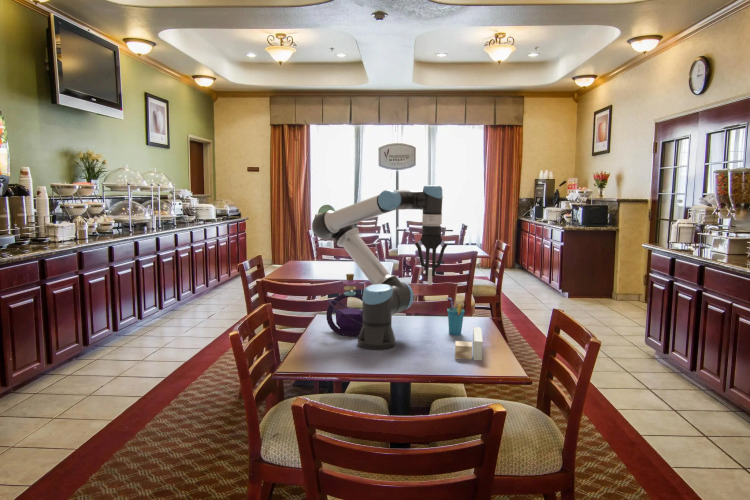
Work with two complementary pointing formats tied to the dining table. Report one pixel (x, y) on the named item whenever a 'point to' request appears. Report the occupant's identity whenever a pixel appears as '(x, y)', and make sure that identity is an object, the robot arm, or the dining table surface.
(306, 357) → the dining table surface
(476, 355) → the board
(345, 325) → the decorative bottle
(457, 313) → the cup
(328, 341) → the dining table surface
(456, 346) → the birch block
